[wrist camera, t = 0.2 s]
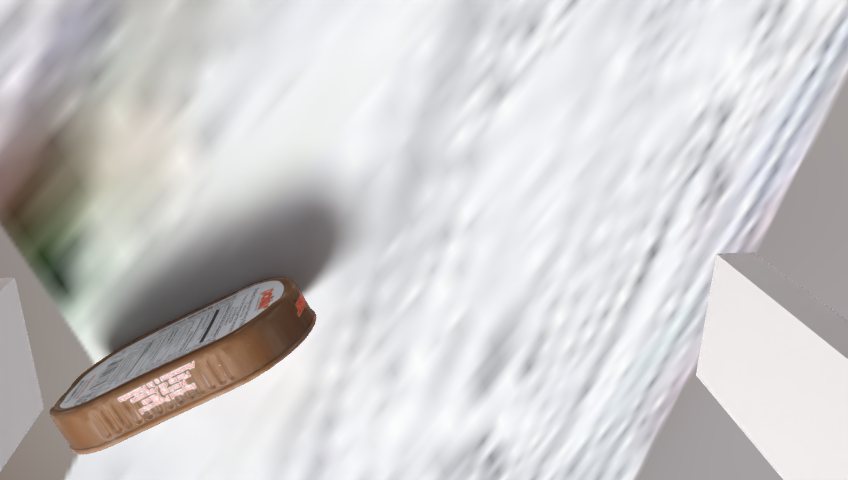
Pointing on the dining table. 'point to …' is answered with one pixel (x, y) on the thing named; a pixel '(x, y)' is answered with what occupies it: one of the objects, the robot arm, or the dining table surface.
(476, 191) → the dining table surface
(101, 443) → the tin
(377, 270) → the dining table surface
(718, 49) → the dining table surface
